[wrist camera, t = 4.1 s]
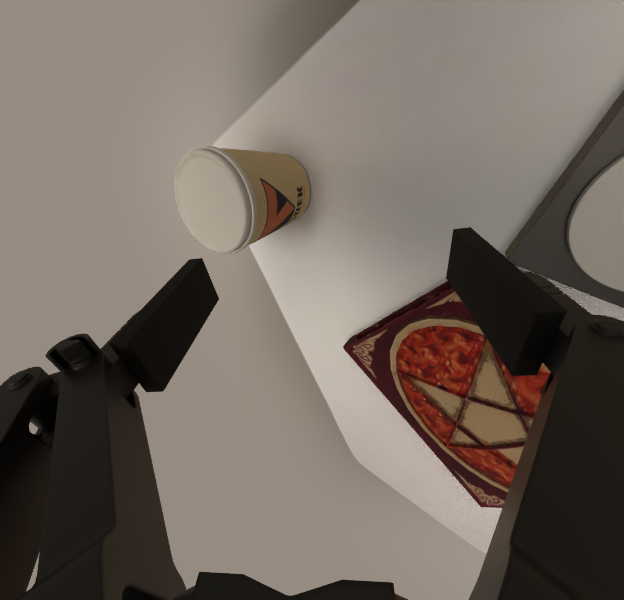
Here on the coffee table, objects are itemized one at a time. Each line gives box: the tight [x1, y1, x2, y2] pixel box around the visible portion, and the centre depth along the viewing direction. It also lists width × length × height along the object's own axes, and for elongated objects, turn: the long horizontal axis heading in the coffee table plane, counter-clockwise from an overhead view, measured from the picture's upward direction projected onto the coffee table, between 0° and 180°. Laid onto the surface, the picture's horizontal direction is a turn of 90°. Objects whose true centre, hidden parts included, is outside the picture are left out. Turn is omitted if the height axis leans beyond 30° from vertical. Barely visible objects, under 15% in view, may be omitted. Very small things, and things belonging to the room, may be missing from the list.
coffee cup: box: [174, 146, 310, 254], centre depth 29 cm, size 9×9×12 cm
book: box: [343, 281, 550, 508], centre depth 30 cm, size 28×21×5 cm
